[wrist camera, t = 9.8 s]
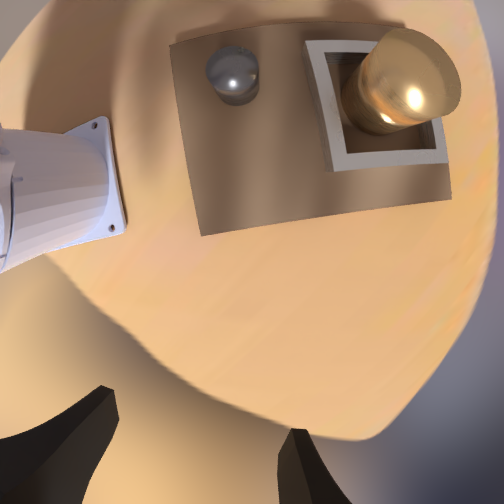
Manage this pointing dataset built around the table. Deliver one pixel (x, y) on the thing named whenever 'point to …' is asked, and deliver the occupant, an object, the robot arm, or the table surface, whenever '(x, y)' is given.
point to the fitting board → (292, 129)
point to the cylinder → (401, 84)
